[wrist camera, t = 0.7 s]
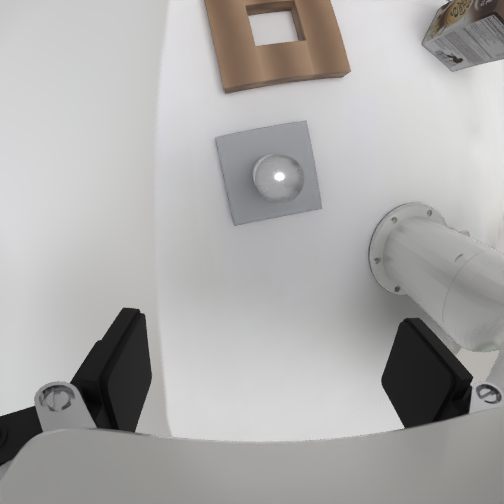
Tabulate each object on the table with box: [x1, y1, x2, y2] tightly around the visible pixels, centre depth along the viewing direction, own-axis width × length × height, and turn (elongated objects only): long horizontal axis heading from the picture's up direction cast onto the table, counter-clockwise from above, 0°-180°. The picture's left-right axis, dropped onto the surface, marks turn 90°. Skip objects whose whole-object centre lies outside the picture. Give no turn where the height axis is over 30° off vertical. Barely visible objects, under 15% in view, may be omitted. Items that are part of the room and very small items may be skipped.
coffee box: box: [422, 0, 504, 71], centre depth 22 cm, size 9×6×16 cm
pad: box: [215, 121, 322, 226], centre depth 35 cm, size 10×10×2 cm
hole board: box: [205, 0, 351, 94], centre depth 29 cm, size 14×14×3 cm
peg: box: [252, 154, 304, 203], centre depth 29 cm, size 4×4×9 cm
